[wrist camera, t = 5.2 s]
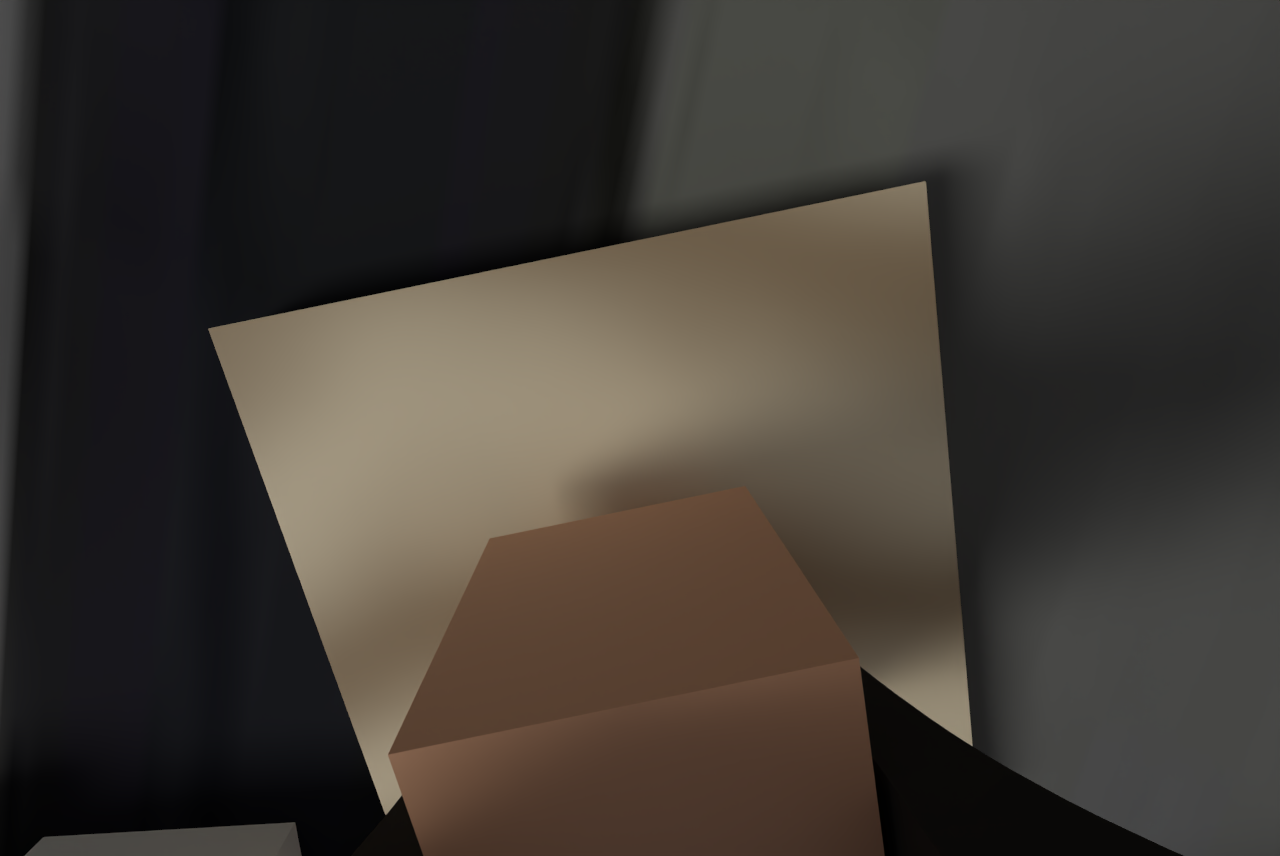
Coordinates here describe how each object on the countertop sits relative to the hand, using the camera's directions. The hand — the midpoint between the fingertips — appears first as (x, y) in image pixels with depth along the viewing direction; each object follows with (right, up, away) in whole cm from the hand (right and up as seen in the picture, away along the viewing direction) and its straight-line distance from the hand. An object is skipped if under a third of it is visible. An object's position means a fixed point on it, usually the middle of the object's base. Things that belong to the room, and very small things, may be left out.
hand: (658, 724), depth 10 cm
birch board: (0, +1, +4) cm, 4 cm away
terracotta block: (0, 0, +1) cm, 2 cm away
